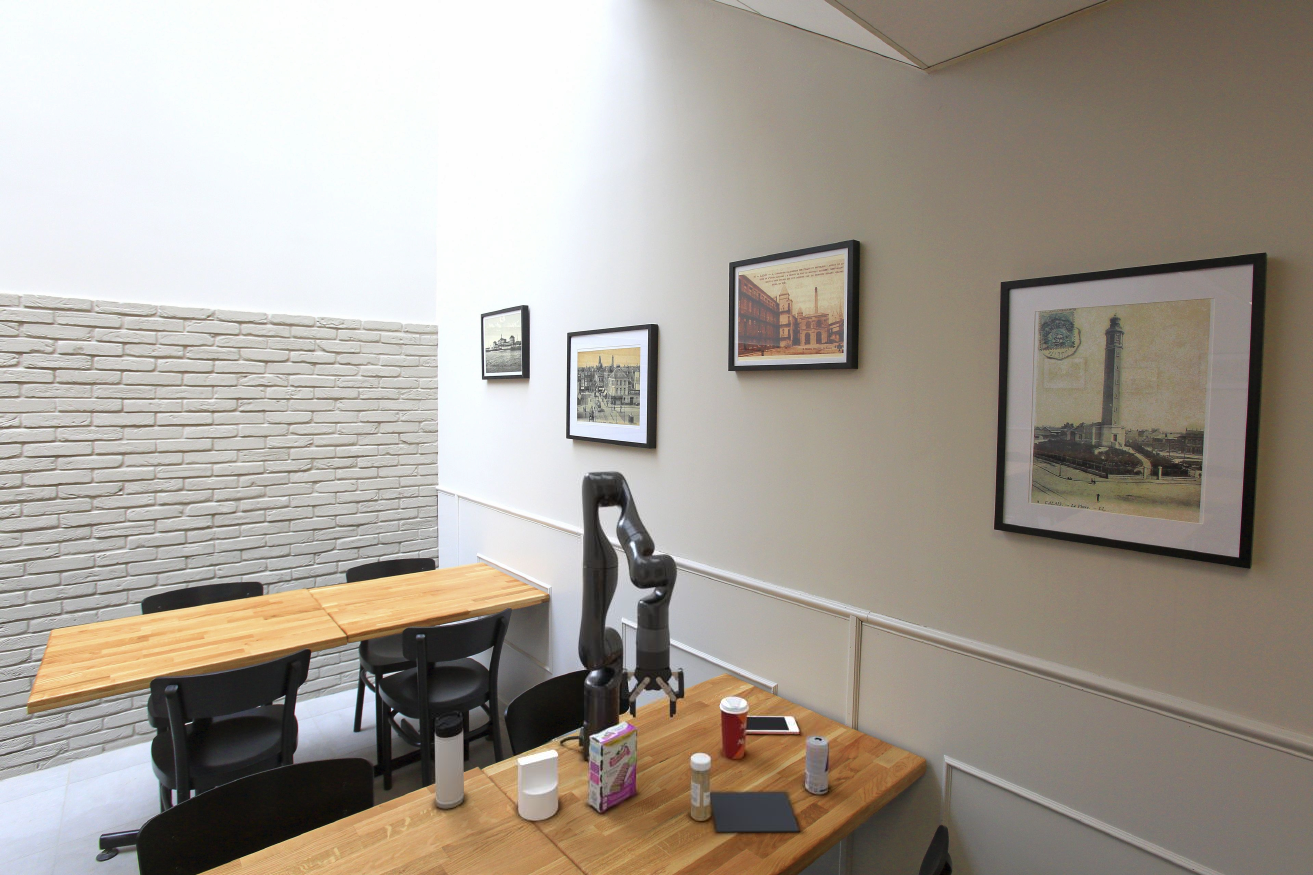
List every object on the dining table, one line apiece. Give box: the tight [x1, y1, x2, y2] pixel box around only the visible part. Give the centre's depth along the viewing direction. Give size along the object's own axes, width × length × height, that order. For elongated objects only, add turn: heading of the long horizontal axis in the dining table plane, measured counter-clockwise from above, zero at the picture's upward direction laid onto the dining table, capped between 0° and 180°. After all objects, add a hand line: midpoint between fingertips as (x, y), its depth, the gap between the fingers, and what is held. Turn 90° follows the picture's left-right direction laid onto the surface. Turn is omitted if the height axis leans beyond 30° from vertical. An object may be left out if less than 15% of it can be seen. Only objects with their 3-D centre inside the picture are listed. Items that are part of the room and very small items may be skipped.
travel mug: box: [434, 710, 465, 810], centre depth 152 cm, size 6×7×20 cm
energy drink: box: [804, 734, 830, 795], centre depth 157 cm, size 5×5×12 cm
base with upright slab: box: [517, 749, 559, 822], centre depth 149 cm, size 9×9×12 cm
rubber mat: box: [710, 791, 800, 834], centre depth 148 cm, size 18×14×1 cm
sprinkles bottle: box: [690, 752, 712, 822], centre depth 147 cm, size 5×5×13 cm
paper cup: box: [719, 696, 750, 760], centre depth 173 cm, size 8×8×14 cm
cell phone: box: [746, 715, 800, 735], centre depth 187 cm, size 9×18×1 cm, turn 89°
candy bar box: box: [587, 720, 638, 814], centre depth 152 cm, size 11×5×16 cm, turn 134°
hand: (652, 715), depth 146 cm, fingers open, 8 cm apart
